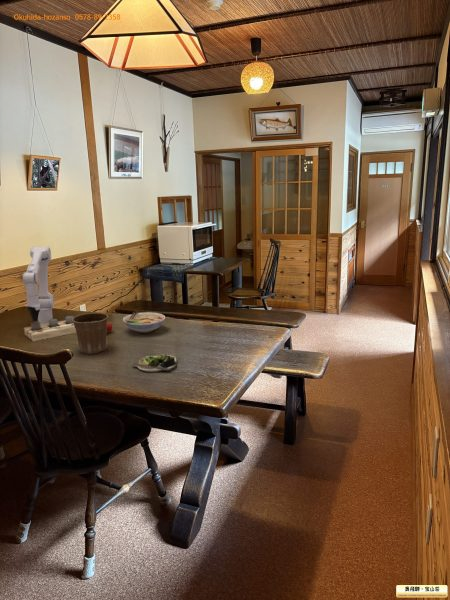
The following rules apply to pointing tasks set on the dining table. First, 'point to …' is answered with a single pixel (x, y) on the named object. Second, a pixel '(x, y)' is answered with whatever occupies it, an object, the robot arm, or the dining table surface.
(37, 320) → the robot arm
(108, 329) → the kendama
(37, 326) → the button
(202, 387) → the dining table surface
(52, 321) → the button
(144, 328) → the ramen bowl
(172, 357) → the salad plate
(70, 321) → the button
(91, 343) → the plant pot
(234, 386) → the dining table surface
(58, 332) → the button board
